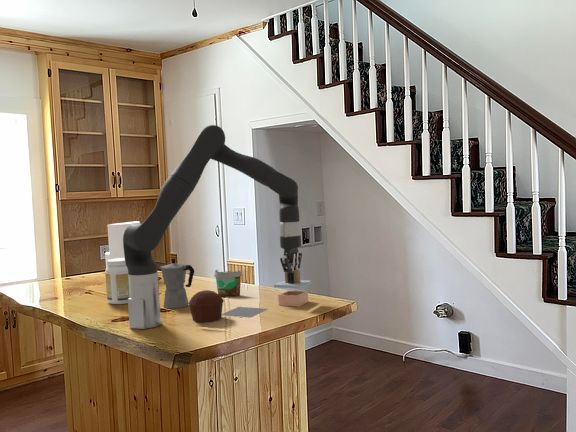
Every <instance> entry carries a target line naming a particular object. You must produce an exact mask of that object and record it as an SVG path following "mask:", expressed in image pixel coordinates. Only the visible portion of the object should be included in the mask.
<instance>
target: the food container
mask: <svg viewBox="0 0 576 432" xmlns="http://www.w3.org/2000/svg"><path fill="white" fill-rule="evenodd" d="M242 276H243V273H242V271H241V270H238V271H236V270H235V271H229V270H228V271H227V270H226V271H219V269H215V270H214V273H213V277H214V278H215V281H216V282H215V283H216V288H217V294H219V295H220V296H221V297H222V298H234V297H238V296H240V295H241V279H242V278H241V277H242Z"/></svg>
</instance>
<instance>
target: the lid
mask: <svg viewBox="0 0 576 432" xmlns="http://www.w3.org/2000/svg"><path fill="white" fill-rule="evenodd" d="M293 273H294V283H288V277H287V273H286V272H284V280H282V281H280V282H277V283H274V284H273V288H281V289H283V288H284V289H295V290H296V289H297V290H300V289H302V288H304V287H307V286H309V285H311V284H312V280H308V279H307V280H305V279H301V270H300V269H298V270H294V272H293Z"/></svg>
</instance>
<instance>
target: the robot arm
mask: <svg viewBox="0 0 576 432" xmlns="http://www.w3.org/2000/svg"><path fill="white" fill-rule="evenodd" d="M210 160H213V161H215V162H217V163H220V164H223V165H225V166H228V167H230V168H232V169H234V170H236V171H238V172H240V173H242V174H244V175H245V176H247V177H249V178H251V179H252V180H254V181H256V182H257V183H260V185H263V186H265V187H267V188H268V189H270V190H272V191H273V192H274V193H276V194H278V198H279V200H278V201H279V210H278V211H279V212H278V213H279V228H278V229H279V243H280V244H279V245H280V246H279V247H280V248H281V249H283V257H279V259H280V263H281V267H282V270H283V272H284V273H285V272H286V273H287V277H288V283H294V273H293V272H294V270H300V269H301V263H302V257H303V253H302V252H299V248H301V247H302V234H301V233H302V232H301V230H302V229H301V222H300V209H299V186H298V183H297V181H295V180H294V179H293V178H291V177H289V176H287V175H285V174H283V173H281V172H280V171H278V170H276V169H275V168H274V167H272V166H270V165H269V164H268V163H266V162H264V161H263V160H261V159H258V158H256V157H254V156H251V155H245V154H242V153H239V152H238V151H235V150H233V149H232V148H230V147H229V146H228V145H226V133H225V131H224V130H223V128H222V127H220V126H219V125H215V124H210V125H206V127H203V129H201V130H200V132H199V134H198V135H197V138H196V140H195V141H194V143H193V144H192V146H191V148H190V149H189V151H188V152H187V153H186V155H185V156H184V157H183V158H182V160H181V161H179V163H178V165H177V166H176V167H175V168H174V169H173V171H172V172H171V173H170V174H169V176H168V177H167V178H166V180H165V181H164V183H163V184H162V186H161V188H160V190H159V193H158V196H157V200H156V203H155V206H154V208H153V209H152V210H151V212H150V213H149V215H148V216H147V217H146V219H145V220H144V221H143V222H142V223H141V222H140V223H136V224H132V225H130V226H128V227H127V228H126V230H125V232H124V235H123V247H124V256H125V263H126V266H127V268H128V276H129V292H130V298H129V299H128V303H127V307H128V308H127V309H128V321H129V322H128V323H129V328H130V329H138V330H146V329H149V328H150V329H151V328H155V327H158V326H160V325H161V324H162V319H161V306H160V305H161V304H160V291H159V289H160V286H159V275H158V274H159V273H158V264H157V262H156V261H155V260H154V258H153V256H152V251H153V250H155V249H156V248H157V247H158V246H159V244H160V242H161V240H162V239H163V237H164V235H165V233H166V231H167V230H168V228H169V226H170V224H171V223H172V221H173V220H174V218H175V217H176V215H177V214H178V213H179V211H180V210H181V209H182V207H183V205H185V203H186V202H187V200H189V198H190V196H191V195H192V193H193V192H194V190H195V188H196V186H197V184H198V183H199V181H200V179H201V177H202V175H203V172H204V171H205V168H206V166H207V164H208V162H210Z"/></svg>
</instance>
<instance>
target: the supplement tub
mask: <svg viewBox="0 0 576 432" xmlns="http://www.w3.org/2000/svg"><path fill="white" fill-rule="evenodd" d="M107 265H108V267H107V268H106V267H105V271H104V273H105V287H106V300H107V303H109V304H110V305H124V304H125V305H128V299H129V298H130V292H129V276H128V268H127V266H126V263H125V258H116V259H110V260H107Z"/></svg>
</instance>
